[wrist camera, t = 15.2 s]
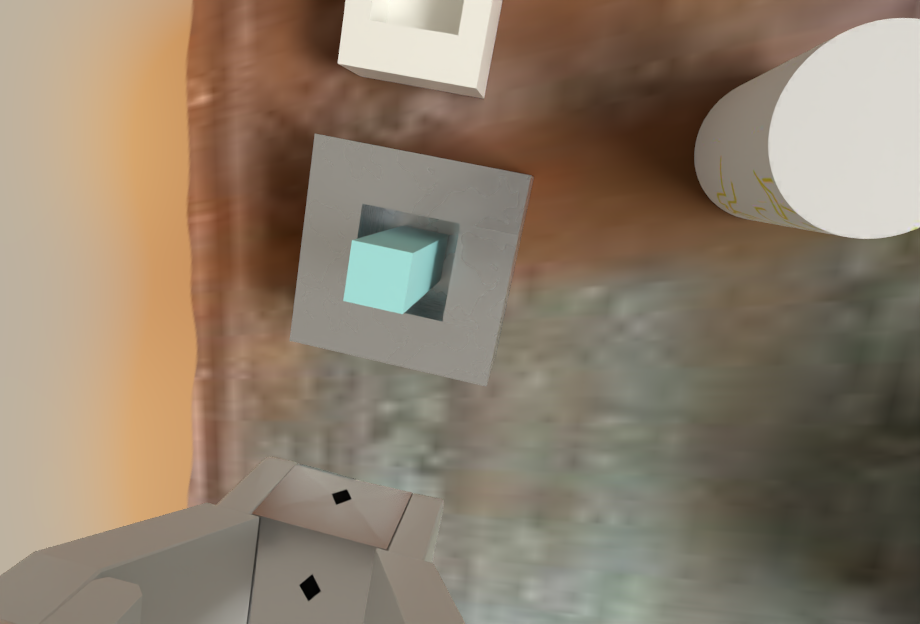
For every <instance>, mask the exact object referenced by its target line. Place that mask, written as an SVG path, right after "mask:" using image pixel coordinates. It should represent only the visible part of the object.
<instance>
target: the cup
mask: <svg viewBox="0 0 920 624" xmlns="http://www.w3.org/2000/svg"><path fill="white" fill-rule="evenodd" d="M694 163H695V170H696V174H697V177H698V180H699V183H700V185H701V187H702V189H703V190H704V192H705V193H706V195H707V196H708V197H709V198H710V200H711V201H712V202H713V203H715V204H716V205H717V206H718V207H719V208H721V209H722V210H724V211H726V212H727V213H729V214H732V215H734V216H737V217H740V218H744V219H749V220H754V221H760V222H765V223H771V224H777V225H782V226H788V227H794V228H799V229H805V230H810V231H816V232H822V233H827V234H833V235H838V236H844V237H850V238H860V239H873V238H884V237H890V236H895V235H899V234H903V233H906V232H909V231H912V230H914V229H917V228H919V227H920V19H914V18H893V19H884V20H879V21H874V22H870V23H867V24H864V25H861V26H858V27H855V28H853V29H850V30H848V31H846V32H844V33H842V34H840V35H838V36H836V37H834V38H832V39H830V40H828V41H826V42H824V43H822V44H820V45H819V46H817V47H815V48H813V49H811V50H809V51H807V52H805V53H803V54H801V55H799V56H797V57H795V58H793V59H791V60H789V61H787V62H785V63H783V64H781V65H779V66H777V67H776V68H774V69H772V70H770V71H768V72H766V73H764V74H762V75H760V76H758V77H756V78H754V79H752V80H750V81H748V82H746V83H744V84H742V85H740V86H738V87H737V88H735V89H733V90H732V91H730V92H729V93H727V94H726V95H725V96H724V97H722V98H721V99H720V100H719V101H718V102H717V103H716V104H715V105H714V107H713V108H712V109H711V110H710V112H709V113H708V115H707V116H706V118H705V119H704V121H703V123H702V125H701V127H700V130H699V132H698V135H697V139H696V144H695V151H694Z"/></svg>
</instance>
